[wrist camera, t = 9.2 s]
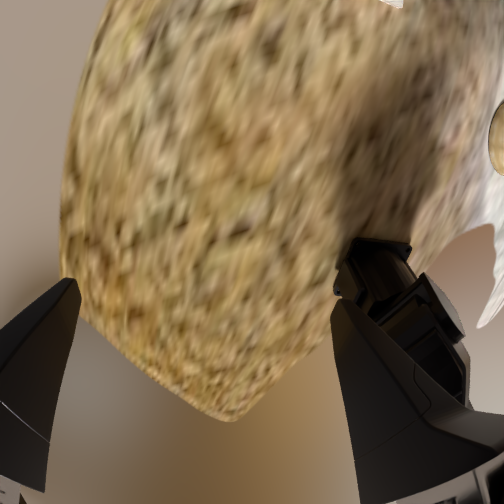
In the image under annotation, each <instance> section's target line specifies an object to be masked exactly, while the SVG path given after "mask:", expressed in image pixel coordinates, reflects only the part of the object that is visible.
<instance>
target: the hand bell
mask: <svg viewBox="0 0 504 504" xmlns="http://www.w3.org/2000/svg"><path fill="white" fill-rule="evenodd" d="M489 154H490V159H491V162H492V165H493V167H494V168H495V170H496V171H497V172H498V173H499V174H500V175H503V176H504V103H503V104H502V105H501V106H500V107H499V109H498V110H497V112H496V114H495V116H494V118H493V121H492V124H491V129H490V133H489Z"/></svg>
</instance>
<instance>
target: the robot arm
mask: <svg viewBox="0 0 504 504" xmlns="http://www.w3.org/2000/svg"><path fill="white" fill-rule="evenodd" d="M357 243H359V244H358V245H356V244H357ZM407 248H408V249H407ZM406 249H407V250H406ZM411 251H412V247H411V245H410V244H408V243H401V242H393V241H385V240H376V239H368V238H355V239H354V240H353V242H352V244H351V247H350V249H349V252H348V254H347V257H346V259H345V260H344V261H343V264H342V266H341V269H340V271H339V274H338V276H337V279H336V284H335V286H334V289H333V292H334V294H335V295H336V296H342V298H341V299H338V301H337V302H336V305H335V307H334V309H333V311H332V313H331V316H330V323H331V331H332V340H333V349H334V358H335V363H336V367H337V372H338V377H339V382H340V386H341V391H342V396H343V401H344V406H345V411H346V417H347V422H348V427H349V433H350V438H351V444H352V450H353V456H354V460H355V461H354V463H355V469H356V475H357V483H358V490H359V497H360V503H361V504H386V503H390V502H393V501H396V503H397V504H504V415H501V414H493V413H486V412H479V411H474V409H473V407H472V405H471V403H470V400H469V388H470V387H469V386H470V356H469V354H468V352H467V350H466V349H465V347H464V345H463V343H462V342H461V339H462V338H464V337H465V336H466V335H465V332H464V329H463V326H462V323H461V320H460V318H459V315H458V313H457V311H456V309H455V308H454V306H453V305H452V303H451V302H450V300H449V299H448V297H447V296H446V295H445V293H444V292H443V291H442V290H441V289H440V288H439V287H438V286H437V285H436V284H435V283H434V282H433V281H432V280H431V279H430V277H429V276H428V275H426V273H425V272H423V273H422V274H421V275H420V276H419V278H417V277H416V275H415V274H414V272H413V271H412V269H411V268H410V266H409V265H408V263H407V262H406V261H407V259H408V257H409V255H410V253H411ZM338 290H339V291H338ZM81 300H82V298H81V293H80V290H79V287H78V284H77V281H76V279H74V278H67V277H66V278H63V279H62V280H61V281H59V282H58V283H57V284H55V285H54V286H53V287H51V289H49V290H48V291H46V292H45V293H44V294H43V295H41V296H40V297H39V298H37V299H36V300H35V301H34V302H32V303H31V304H30V305H29V306H28V307H26V308H25V309H24V310H23V311H22V312H20V313H19V314H18V315H17V316H16V317H14V318H13V319H12V320H11V321H10V322H9V323H7V324H6V325H5V326H4V327H3V328H2V329H0V504H26V502H25V500H24V498H23V497H22V495H21V493H20V488H21V485H24V486H26V487H29V488H31V489H34V490H37V491H39V492H42V493H44V492H45V482H46V470H47V461H48V453H49V446H50V443H49V442H50V438H51V432H52V426H53V420H54V415H55V410H56V405H57V400H58V396H59V392H60V387H61V383H62V379H63V375H64V371H65V367H66V363H67V359H68V356H69V352H70V349H71V346H72V342H73V338H74V334H75V329H76V324H77V319H78V315H79V310H80V306H81Z"/></svg>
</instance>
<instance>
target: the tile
mask: <svg viewBox="0 0 504 504" xmlns="http://www.w3.org/2000/svg"><path fill="white" fill-rule="evenodd" d="M380 1H382V2H384V3H387V4H389V5H391V6H394V7H396V8H402V6H403V0H380Z"/></svg>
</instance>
